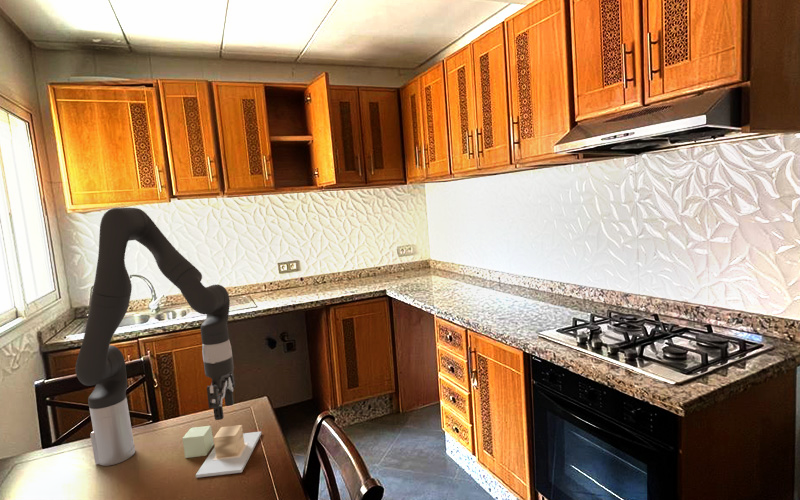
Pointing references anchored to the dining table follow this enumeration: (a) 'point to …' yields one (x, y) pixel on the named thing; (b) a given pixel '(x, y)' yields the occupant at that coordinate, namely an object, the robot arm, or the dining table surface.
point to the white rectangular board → (229, 459)
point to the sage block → (198, 441)
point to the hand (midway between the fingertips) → (224, 412)
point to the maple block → (229, 441)
